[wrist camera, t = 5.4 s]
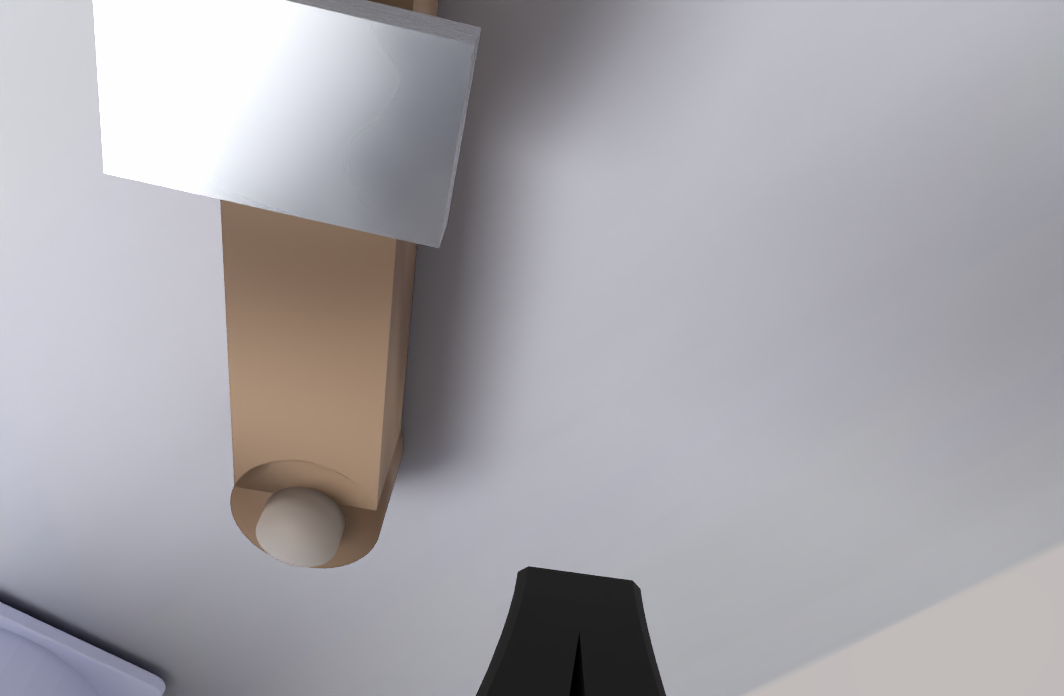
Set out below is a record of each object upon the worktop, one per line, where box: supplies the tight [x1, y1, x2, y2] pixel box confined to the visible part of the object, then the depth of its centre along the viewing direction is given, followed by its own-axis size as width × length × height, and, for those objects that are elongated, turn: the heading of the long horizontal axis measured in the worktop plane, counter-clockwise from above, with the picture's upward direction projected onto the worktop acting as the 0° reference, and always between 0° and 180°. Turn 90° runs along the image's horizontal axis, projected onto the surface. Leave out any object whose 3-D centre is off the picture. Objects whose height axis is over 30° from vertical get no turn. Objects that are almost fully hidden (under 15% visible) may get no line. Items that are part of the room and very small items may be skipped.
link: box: [220, 0, 438, 568], centre depth 17 cm, size 12×3×3 cm, turn 172°
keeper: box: [93, 0, 482, 248], centre depth 14 cm, size 3×5×4 cm, turn 78°
